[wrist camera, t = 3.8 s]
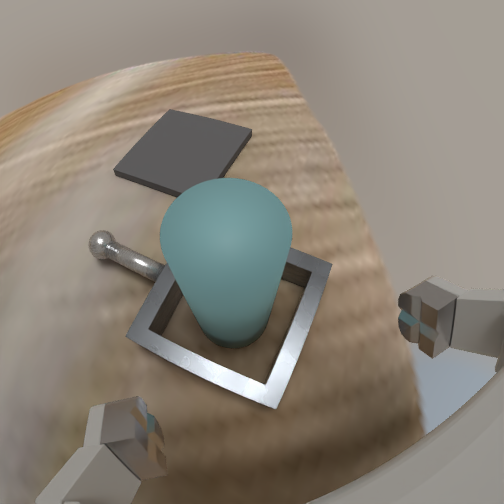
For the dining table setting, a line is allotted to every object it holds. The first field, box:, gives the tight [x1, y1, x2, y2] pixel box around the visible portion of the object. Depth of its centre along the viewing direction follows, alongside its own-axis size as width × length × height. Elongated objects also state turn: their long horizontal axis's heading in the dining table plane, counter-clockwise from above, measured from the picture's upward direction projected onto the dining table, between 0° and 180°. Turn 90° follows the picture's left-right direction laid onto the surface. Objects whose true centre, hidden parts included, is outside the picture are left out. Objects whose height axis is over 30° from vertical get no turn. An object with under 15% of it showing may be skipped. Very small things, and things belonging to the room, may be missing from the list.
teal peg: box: [160, 178, 292, 348], centre depth 14 cm, size 4×4×10 cm
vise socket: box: [89, 230, 332, 409], centre depth 18 cm, size 16×9×2 cm, turn 66°
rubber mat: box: [113, 109, 252, 197], centre depth 25 cm, size 9×9×1 cm
